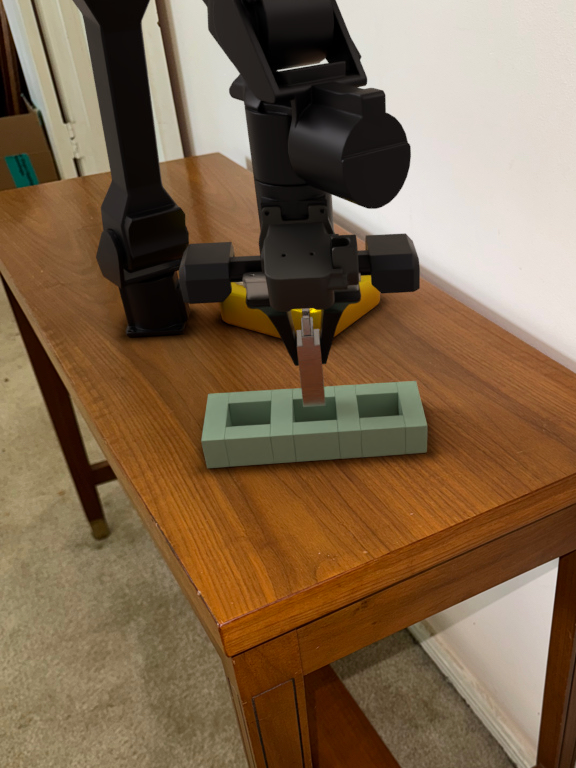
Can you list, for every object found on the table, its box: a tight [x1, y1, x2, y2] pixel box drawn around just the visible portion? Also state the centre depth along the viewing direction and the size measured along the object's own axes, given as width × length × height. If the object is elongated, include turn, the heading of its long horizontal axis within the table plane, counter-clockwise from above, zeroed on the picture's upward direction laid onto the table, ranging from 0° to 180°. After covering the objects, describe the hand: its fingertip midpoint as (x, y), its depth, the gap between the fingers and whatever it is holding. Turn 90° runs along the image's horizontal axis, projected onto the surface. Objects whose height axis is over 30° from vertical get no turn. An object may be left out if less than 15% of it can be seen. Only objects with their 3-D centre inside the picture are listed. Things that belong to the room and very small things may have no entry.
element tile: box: [218, 275, 381, 339], centre depth 91 cm, size 15×15×5 cm
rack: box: [200, 380, 428, 469], centre depth 71 cm, size 20×8×3 cm, turn 97°
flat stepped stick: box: [296, 308, 325, 407], centre depth 67 cm, size 2×4×8 cm, turn 6°
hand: (310, 362), depth 67 cm, fingers closed on flat stepped stick, 2 cm apart
